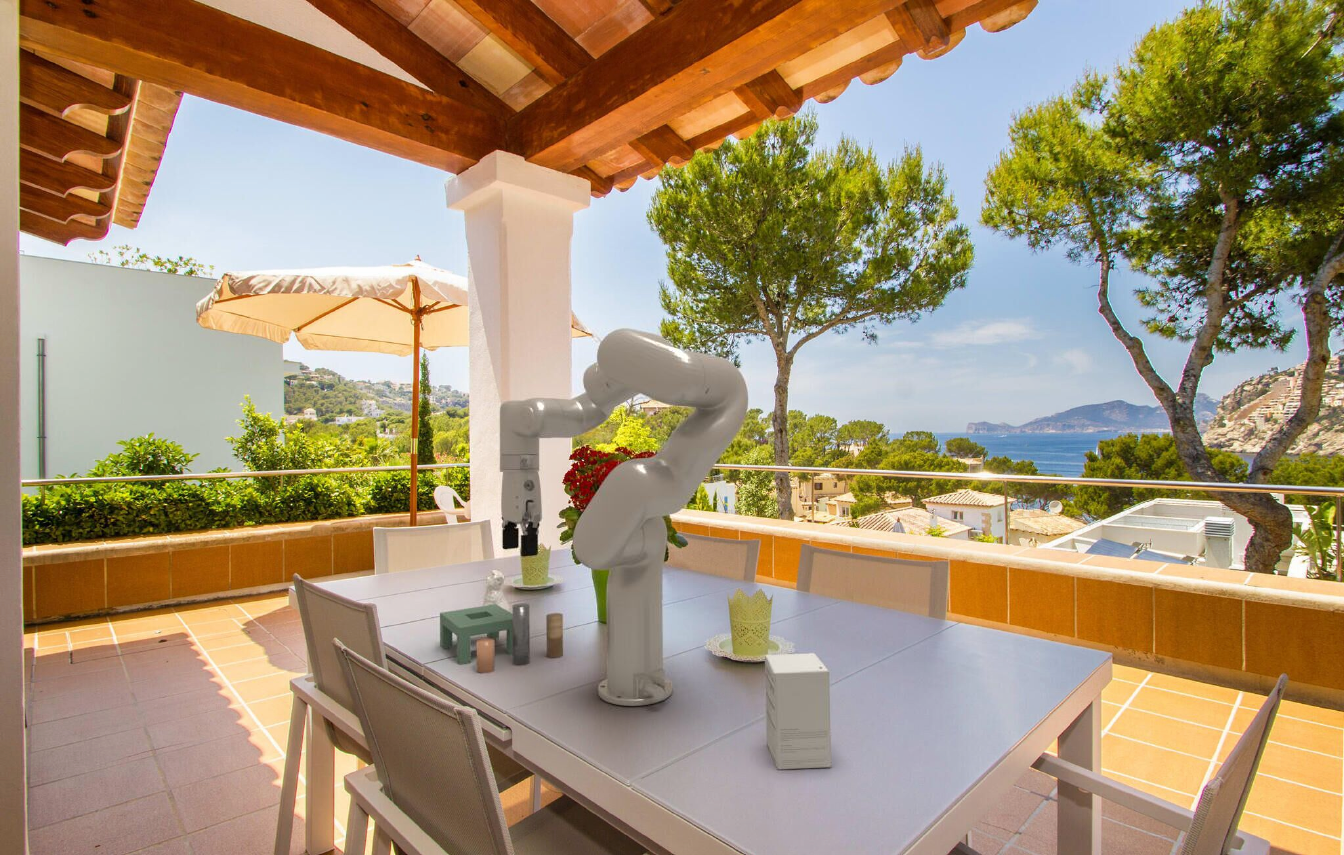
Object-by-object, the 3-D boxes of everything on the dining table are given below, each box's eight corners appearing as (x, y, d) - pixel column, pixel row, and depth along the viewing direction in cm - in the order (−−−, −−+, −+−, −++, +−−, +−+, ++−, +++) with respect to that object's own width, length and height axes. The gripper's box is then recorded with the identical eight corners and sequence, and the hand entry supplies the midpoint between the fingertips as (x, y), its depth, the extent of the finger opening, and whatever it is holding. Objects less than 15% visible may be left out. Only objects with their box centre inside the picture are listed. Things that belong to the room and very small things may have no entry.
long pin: (532, 663, 126) (531, 605, 127) (516, 666, 125) (516, 608, 125) (526, 658, 129) (525, 602, 129) (510, 662, 127) (510, 605, 127)
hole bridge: (519, 652, 133) (519, 617, 133) (460, 664, 126) (459, 627, 126) (495, 636, 144) (495, 604, 145) (440, 646, 138) (439, 612, 138)
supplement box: (817, 742, 92) (816, 651, 92) (832, 768, 85) (830, 670, 85) (765, 744, 92) (763, 653, 92) (775, 770, 84) (773, 671, 85)
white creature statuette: (470, 617, 160) (469, 568, 161) (505, 612, 164) (505, 564, 165) (477, 626, 152) (477, 574, 152) (514, 621, 156) (514, 571, 156)
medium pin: (565, 656, 130) (565, 615, 131) (550, 659, 129) (550, 618, 129) (558, 651, 133) (558, 612, 133) (544, 654, 131) (543, 614, 131)
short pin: (497, 670, 122) (496, 641, 123) (480, 674, 121) (479, 644, 121) (491, 666, 125) (491, 637, 125) (474, 669, 123) (474, 640, 123)
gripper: (556, 465, 123) (556, 556, 122) (521, 462, 137) (521, 544, 137) (517, 466, 118) (517, 561, 118) (486, 463, 133) (485, 547, 132)
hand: (519, 552), depth 127 cm, fingers open, 9 cm apart
